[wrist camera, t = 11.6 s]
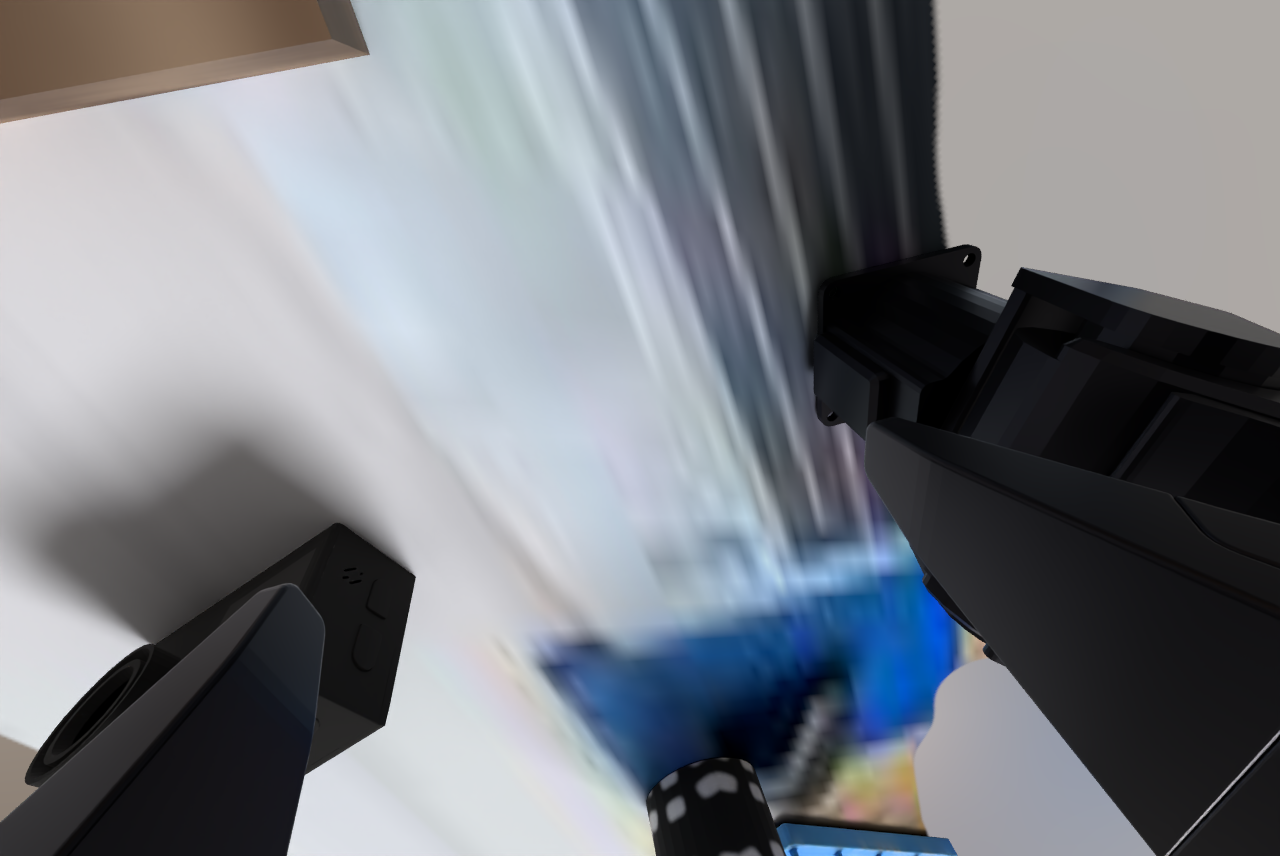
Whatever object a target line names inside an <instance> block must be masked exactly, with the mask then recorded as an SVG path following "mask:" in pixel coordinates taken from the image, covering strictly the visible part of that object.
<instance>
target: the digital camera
mask: <svg viewBox="0 0 1280 856" xmlns="http://www.w3.org/2000/svg"><path fill="white" fill-rule="evenodd" d="M329 557H330V558H329ZM348 568H357V569H356V570H352V571H347V572H345V571H344V569H348ZM360 573H363V575H360ZM343 576H348V577H349V578H347V579H343V578H342V577H343ZM415 578H416V577H415V576H414V575H412V574H411V573H409V572H408V571H407V570H405V569H404V568H402V567H401V566H400V565H398V564H397V563H395V562H394V561H393V560H391V559H390V558H389V557H387V556H386V555H384V554H383V553H382V552H380V551H379V550H377V549H376V548H375V547H373V546H372V545H370V544H369V543H368V542H366V541H365V540H363V539H362V538H361V537H359V536H358V535H356V534H355V533H354V532H352V531H351V530H349V529H348V528H347V527H345V526H344V525H342V524H339V523H336V524H334V525H332V526H331V527H329V528H328V529H326V530H325V531H323V532H322V533H320V534H319V535H317V536H316V537H314V538H313V539H311V540H310V541H308V542H307V543H305V544H304V545H302V546H301V547H299V548H298V549H296V550H295V551H293V552H292V553H290V554H289V555H288V556H286V557H285V558H283V559H282V560H280V561H279V562H277V563H276V564H274V565H273V566H271V567H270V568H268V569H267V570H265V571H264V572H262V573H261V574H259V575H258V576H256V577H255V578H253V579H252V580H250V581H249V582H247V583H246V584H245V585H243V586H242V587H240V588H239V589H237V590H236V591H234V592H233V593H231V594H230V595H228V596H227V597H225V598H224V599H222V600H221V601H219V602H218V603H216V604H215V605H213V606H212V607H211V608H209V609H208V610H206V611H205V612H203V613H202V614H200V615H199V616H197V617H196V618H194V619H193V620H191V621H190V622H188V623H187V624H185V625H184V626H183V627H181V628H180V629H178V630H177V631H175V632H174V633H172V634H171V635H169V636H168V637H166V638H165V639H163V640H162V641H160V642H159V643H157V644H156V645H153V644H147V645H144V646H142V647H140V648H138V649H136V650H135V651H133V652H132V653H130V654H129V655H128V656H126V657H125V658H124V659H123V660H121V661H120V662H119V663H118V664H116V665H115V666H114V667H113V668H112V669H111V670H109V671H108V672H107V673H106V674H105V675H104V676H103V677H102V678H101V679H100V680H99V681H98V682H97V683H96V684H95V685H94V686H93V687H92V688H91V689H90V690H89V691H88V692H87V693H86V694H85V695H84V696H83V697H82V698H81V699H80V700H79V701H78V702H77V704H76V705H75V706H74V707H73V708H72V709H71V710H70V711H69V713H68V714H67V715H66V716H65V717H64V718H63V719H62V721H61V722H60V723H59V724H58V725H57V727H56V728H55V729H54V731H53V732H52V733H51V735H50V736H49V737H48V739H47V740H46V741H45V743H44V744H43V745H42V747H41V748H40V750H39V751H38V753H37V754H36V756H35V758H34V759H33V761H32V763H31V764H30V766H29V769H28V771H27V773H26V776H25V783H26V784H28V785H31V786H35V787H40V786H41V785H43V784H44V783H45V782H46V781H47V780H48V779H49V778H50V777H52V776H53V775H54V774H55V773H56V772H57V771H58V770H59V769H60V768H62V767H63V766H64V765H65V764H66V763H67V762H68V761H69V760H71V759H72V758H73V757H74V756H75V755H76V754H77V753H78V752H80V751H81V750H82V749H83V748H84V747H85V746H86V745H87V744H88V743H90V742H91V741H92V740H93V739H94V738H95V737H96V736H97V735H99V734H100V733H101V732H102V731H103V730H104V729H105V728H106V727H108V726H109V725H110V724H111V723H112V722H113V721H114V720H115V719H116V718H118V717H119V716H120V715H121V714H122V713H123V712H124V711H125V710H127V709H128V708H129V707H130V706H131V705H132V704H133V703H134V702H136V701H137V700H138V699H139V698H140V697H141V696H142V695H143V694H144V693H146V692H147V691H148V690H149V689H150V688H151V687H152V686H153V685H155V684H156V683H157V682H158V681H159V680H160V679H161V678H162V677H164V676H165V675H166V674H167V673H168V672H169V671H170V670H171V669H172V668H174V667H175V666H176V665H177V664H178V663H179V662H180V661H181V660H183V659H184V658H185V657H186V656H187V655H188V654H189V653H190V652H192V651H193V650H194V649H195V648H196V647H197V646H198V645H199V644H200V643H202V642H203V641H204V640H205V639H206V638H207V637H208V636H209V635H211V634H212V633H213V632H214V631H215V630H216V629H217V628H218V627H220V626H221V625H222V624H223V623H224V622H225V621H226V620H227V619H228V618H230V617H231V616H232V615H233V614H234V613H235V612H236V611H237V610H239V609H240V608H241V607H242V606H243V605H244V604H245V603H246V602H248V601H249V600H250V599H251V598H252V597H253V596H254V595H255V594H257V593H258V592H260V591H261V590H264V589H267V588H271V587H274V586H278V585H281V584H285V583H292V584H294V585H296V586H297V587H298V588H299V589H300V590H301V591H302V592H303V594H304V595H305V596H306V598H307V599H308V600H309V601H310V603H311V604H312V605H313V606H314V608H315V609H316V610H317V612H318V613H319V614H320V615H321V617H322V619H323V622H324V626H325V639H324V648H323V657H322V666H321V675H320V683H319V692H318V701H317V710H316V719H315V725H314V732H313V738H312V743H311V748H310V753H309V758H308V762H307V767H306V771H305V775H306V774H307V773H309V772H311V771H312V770H314V769H315V768H317V767H319V766H320V765H322V764H323V763H325V762H327V761H328V760H330V759H332V758H333V757H335V756H336V755H338V754H340V753H341V752H343V751H344V750H346V749H348V748H349V747H351V746H353V745H354V744H356V743H357V742H359V741H361V740H362V739H364V738H365V737H367V736H369V735H370V734H372V733H374V732H375V731H377V730H378V729H380V728H382V727H383V726H385V723H386V719H387V715H388V711H389V707H390V702H391V697H392V692H393V687H394V682H395V677H396V672H397V667H398V662H399V657H400V652H401V647H402V642H403V637H404V633H405V628H406V623H407V618H408V613H409V608H410V603H411V598H412V593H413V588H414V583H415ZM351 581H353V582H351ZM361 581H362V582H361ZM349 582H351V583H349Z"/></svg>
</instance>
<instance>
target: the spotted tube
mask: <svg viewBox="0 0 1280 856" xmlns="http://www.w3.org/2000/svg"><path fill="white" fill-rule="evenodd" d="M647 810H648V816H649V821H650V826H651V831H652V836H653V841H654V847H655V852H656V856H786V853H785V851H784V848H783V845H782V843H781V840H780V837H779V834H778V832H777V829H776V826H775V824H774V821H773V818H772V815H771V813H770V810H769V807H768V805H767V802H766V799H765V796H764V794H763V791H762V788H761V786H760V783H759V780H758V777H757V775H756V772H755V769H754V768H753V767H752V765H751V764H749V763H748V762H746V761H743V760H741V759H736V758H715V759H709V760H704V761H700V762H697V763H694V764H691V765H688V766H686V767H683V768H681V769H679V770H677V771H675V772H673V773H672V774H670V775H668V776H667V777H665V778H664V779H663V780H661V781H660V782H659V783H658V784H657V785H656V786H655V787H654V788H653V789H652V791H651V792H650V794H649V796H648V799H647Z"/></svg>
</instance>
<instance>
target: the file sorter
mask: <svg viewBox="0 0 1280 856" xmlns="http://www.w3.org/2000/svg"><path fill="white" fill-rule="evenodd" d="M777 832H778V834H779V837H780V840H781V843H782V845H783V848H784V851H785V853H786V856H957V853H956V852H955V850H954V848H953V847H952V845H951V843H950V841H949V839H947V838H937V837H927V836H916V835H906V834H895V833H884V832H874V831H862V830H852V829H843V828H832V827H821V826H810V825H799V824H789V823H784V824H782V825H780V826H779V827H778V828H777Z"/></svg>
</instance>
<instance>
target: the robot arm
mask: <svg viewBox="0 0 1280 856" xmlns="http://www.w3.org/2000/svg"><path fill="white" fill-rule="evenodd" d="M967 255H968V258H967V260H966V261H965V262H964V263H963V261H964V258H965V257H966V256H967ZM980 262H981V251H980V249H979V248H977V247H975V246H972V245H968V244H967V245H960V246H957V247H952V248H948V249H944V250H940V251H936V252H932V253H928V254H924V255H920V256H916V257H912V258H908V259H904V260H900V261H896V262H892V263H888V264H884V265H880V266H876V267H872V268H868V269H864V270H860V271H856V272H852V273H848V274H844V275H840V276H836V277H832V278H829V279H827V280H825V281H824V282H823V283H822V284H821V286H820V288H819V291H818V335H817V336H816V338H815V340H814V394H815V395H816V396H817V416H818V419H819V420H820V421H821V422H822V423H823V424H824V425H825V426H834V425H838V424H841V423H846V424H848V425H849V426H850V427H851V428H852V429H853V430H854V431H855V432H856V433H857V434H858V435H859V436H860V437H862V438H863V439H864V440H865V441H866V442H865V457H864V467H865V472H866V474H867V477H868V479H869V480H870V482H871V484H872V485H873V487H874V488H875V490H876V491H877V493H878V495H879V496H880V498H881V499H882V501H883V503H884V504H885V506H886V507H887V509H888V510H889V512H890V514H891V515H892V517H893V518H894V520H895V522H896V523H897V525H898V526H899V528H900V529H901V531H902V533H903V534H904V536H905V537H906V539H907V540H908V542H909V544H910V547H911V549H912V550H913V552H914V554H915V557H916V559H917V561H918V563H919V565H920V567H921V569H922V571H923V573H924V577H923V578H922V580H923V583H924V585H925V587H926V589H927V590H928V592H929V593H930V594H931V595H932V596H933V597H934V598H935V599H936V600H937V601H938V602H939V604H940V605H941V606H942V607H943V608H944V610H945V611H946V612H947V613H948V615H949V616H950V617H951V618H952V619H954V620H955V621H956V622H957V623H958V624H959V625H961V626H962V627H963V628H964V629H965V630H967V631H968V632H969V633H971V634H972V635H974V636H975V637H977V638H978V639H979V640H981V641H982V642H984V643H986V645H985V646H984V648H983V652H984V654H985V655H986V656H987V657H988V658H989V659H991V660H993V661H995V662H997V663H999V664H1001V665H1003V666H1006V667H1007V669H1008V670H1009V671H1010V673H1011V674H1012V675H1013V676H1014V677H1015V679H1016V680H1017V681H1018V683H1019V684H1020V685H1021V686H1022V688H1023V689H1024V690H1025V691H1026V693H1027V694H1028V695H1029V696H1030V698H1031V699H1032V700H1033V701H1034V702H1035V704H1036V705H1037V706H1038V708H1039V709H1040V710H1041V711H1042V713H1043V714H1044V715H1045V716H1046V718H1047V719H1048V720H1049V721H1050V723H1051V724H1052V725H1053V726H1054V728H1055V729H1056V730H1057V732H1058V733H1059V734H1060V735H1061V737H1062V738H1063V739H1064V740H1065V742H1066V743H1067V744H1068V745H1069V747H1070V748H1071V749H1072V750H1073V752H1074V753H1075V754H1076V755H1077V757H1078V758H1079V759H1080V760H1081V762H1082V763H1083V764H1084V765H1085V767H1086V768H1087V769H1088V770H1089V772H1090V773H1091V774H1092V776H1093V777H1094V778H1095V779H1096V781H1097V782H1098V783H1099V784H1100V786H1101V787H1102V788H1103V789H1104V791H1105V792H1106V793H1107V794H1108V796H1109V797H1110V798H1111V799H1112V801H1113V802H1114V803H1115V804H1116V806H1117V807H1118V808H1119V809H1120V811H1121V812H1122V813H1123V814H1124V816H1125V817H1126V818H1127V819H1128V821H1129V822H1130V823H1131V825H1132V826H1133V827H1134V828H1135V829H1136V830H1137V832H1138V833H1139V834H1140V836H1141V837H1142V838H1143V840H1144V841H1145V842H1146V843H1147V845H1148V846H1149V847H1150V848H1151V850H1152V851H1153V852H1154V853H1155V855H1156V856H1280V334H1279V333H1277V332H1274V331H1272V330H1270V329H1267V328H1265V327H1263V326H1260V325H1258V324H1255V323H1253V322H1251V321H1248V320H1246V319H1244V318H1241V317H1239V316H1237V315H1234V314H1232V313H1229V312H1226V311H1222V310H1219V309H1215V308H1211V307H1207V306H1203V305H1200V304H1196V303H1191V302H1188V301H1184V300H1180V299H1177V298H1172V297H1169V296H1165V295H1161V294H1157V293H1153V292H1149V291H1146V290H1142V289H1137V288H1133V287H1127V286H1121V285H1116V284H1111V283H1106V282H1099V281H1094V280H1089V279H1084V278H1078V277H1072V276H1067V275H1062V274H1057V273H1051V272H1045V271H1040V270H1034V269H1029V268H1024V267H1021V268H1020V270H1019V272H1018V274H1017V276H1016V278H1015V279H1014V282H1013V283H1012V286H1013V287H1015V288H1014V290H1013V292H1012V294H1011V296H1010V297H1009V300H1005V299H1003V298H1000V297H997V296H995V295H992V294H990V293H987V292H984V291H981V290H979V289H976V285H977V280H978V273H979V268H980ZM835 287H836V288H837V290H836V293H835V294H834V295H833V296H831V297H830V296H829V294H830V291H831V290H832V289H833V288H835ZM832 411H833V413H832V414H831V416H829V417H827V416H828V414H829V413H830V412H832ZM324 639H325V626H324V622H323V619H322V617H321V615H320V614H319V613H318V612H317V610H316V609H315V608H314V606H313V605H312V604H311V603H310V601H309V600H308V599H307V598H306V596H305V595H304V594H303V592H302V591H301V590H300V589H299V588H298V587H297V586H296V585H294V584H292V583H285V584H281V585H278V586H274V587H271V588H267V589H264V590H261V591H260V592H258V593H257V594H255V595H254V596H253V597H252V598H251V599H250V600H249V601H248V602H246V603H245V604H244V605H243V606H242V607H241V608H240V609H239V610H237V611H236V612H235V613H234V614H233V615H232V616H231V617H230V618H228V619H227V620H226V621H225V622H224V623H223V624H222V625H221V626H220V627H218V628H217V629H216V630H215V631H214V632H213V633H212V634H211V635H209V636H208V637H207V638H206V639H205V640H204V641H203V642H202V643H200V644H199V645H198V646H197V647H196V648H195V649H194V650H193V651H192V652H190V653H189V654H188V655H187V656H186V657H185V658H184V659H183V660H181V661H180V662H179V663H178V664H177V665H176V666H175V667H174V668H172V669H171V670H170V671H169V672H168V673H167V674H166V675H165V676H164V677H162V678H161V679H160V680H159V681H158V682H157V683H156V684H155V685H153V686H152V687H151V688H150V689H149V690H148V691H147V692H146V693H144V694H143V695H142V696H141V697H140V698H139V699H138V700H137V701H136V702H134V703H133V704H132V705H131V706H130V707H129V708H128V709H127V710H125V711H124V712H123V713H122V714H121V715H120V716H119V717H118V718H116V719H115V720H114V721H113V722H112V723H111V724H110V725H109V726H108V727H106V728H105V729H104V730H103V731H102V732H101V733H100V734H99V735H97V736H96V737H95V738H94V739H93V740H92V741H91V742H90V743H88V744H87V745H86V746H85V747H84V748H83V749H82V750H81V751H80V752H78V753H77V754H76V755H75V756H74V757H73V758H72V759H71V760H69V761H68V762H67V763H66V764H65V765H64V766H63V767H62V768H60V769H59V770H58V771H57V772H56V773H55V774H54V775H53V776H52V777H50V778H49V779H48V780H47V781H46V782H45V783H44V784H43V785H41V786H40V787H39V788H38V789H37V790H36V791H35V792H34V793H32V794H31V795H30V796H29V797H28V798H27V799H26V800H25V801H24V802H22V803H21V804H20V805H19V806H18V807H17V808H16V809H15V810H13V811H12V812H11V813H10V814H9V815H8V816H7V817H6V818H4V819H3V820H2V821H1V822H0V856H287V852H288V848H289V843H290V839H291V834H292V830H293V825H294V821H295V816H296V812H297V807H298V803H299V798H300V794H301V789H302V785H303V780H304V776H305V771H306V767H307V762H308V758H309V753H310V748H311V743H312V738H313V732H314V725H315V719H316V710H317V701H318V692H319V683H320V675H321V666H322V657H323V648H324Z"/></svg>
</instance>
